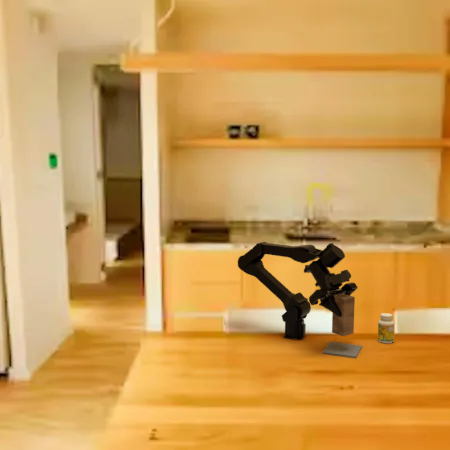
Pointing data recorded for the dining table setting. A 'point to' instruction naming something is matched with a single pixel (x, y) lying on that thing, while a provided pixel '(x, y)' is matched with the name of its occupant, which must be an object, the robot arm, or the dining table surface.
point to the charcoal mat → (342, 349)
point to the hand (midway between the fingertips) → (346, 314)
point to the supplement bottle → (386, 328)
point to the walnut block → (344, 315)
